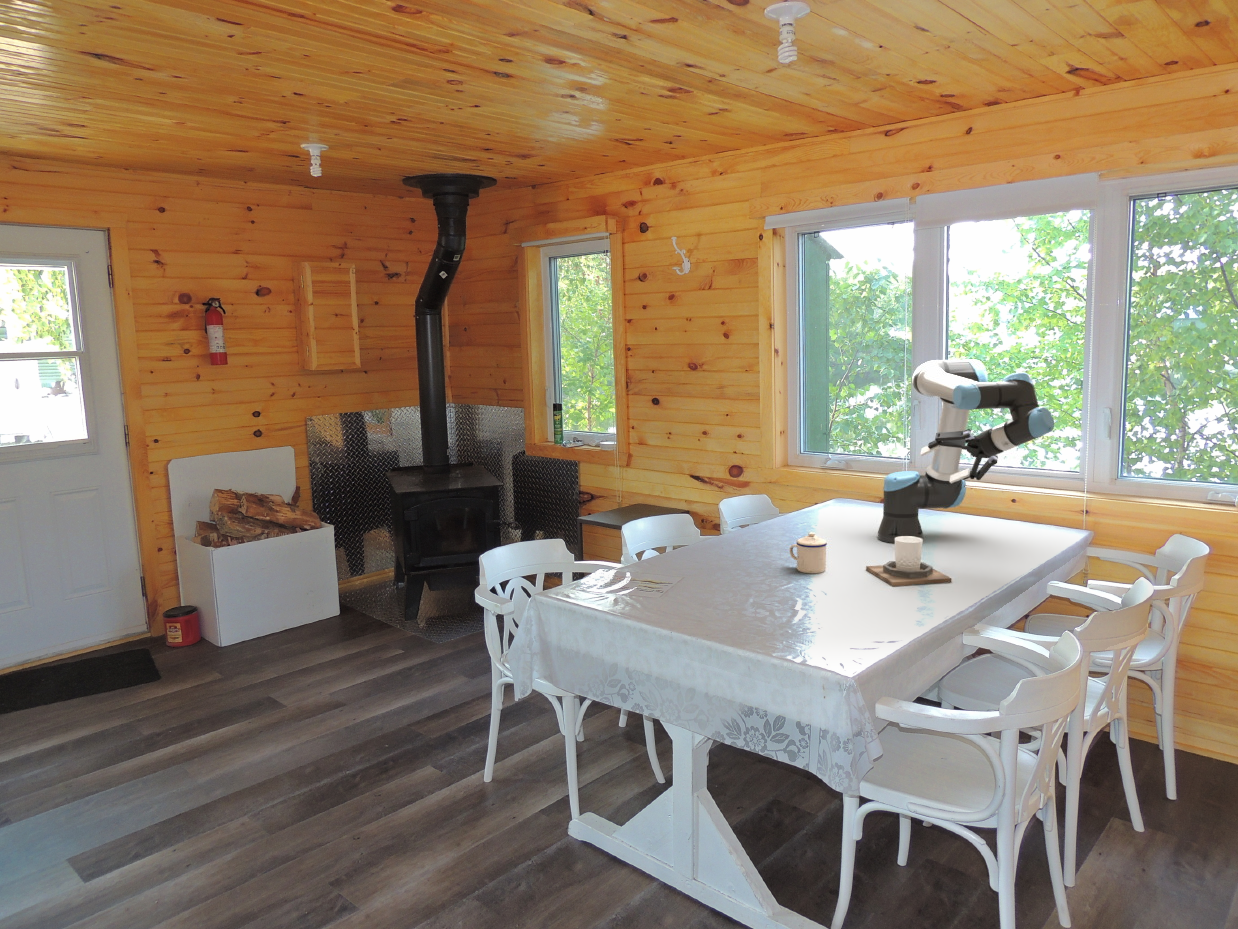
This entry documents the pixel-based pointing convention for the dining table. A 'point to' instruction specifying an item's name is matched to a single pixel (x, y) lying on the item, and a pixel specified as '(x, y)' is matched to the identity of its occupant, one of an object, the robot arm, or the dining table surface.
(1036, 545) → the dining table surface
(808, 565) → the teacup with lid
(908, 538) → the white cup
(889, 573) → the ring holder
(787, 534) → the dining table surface
